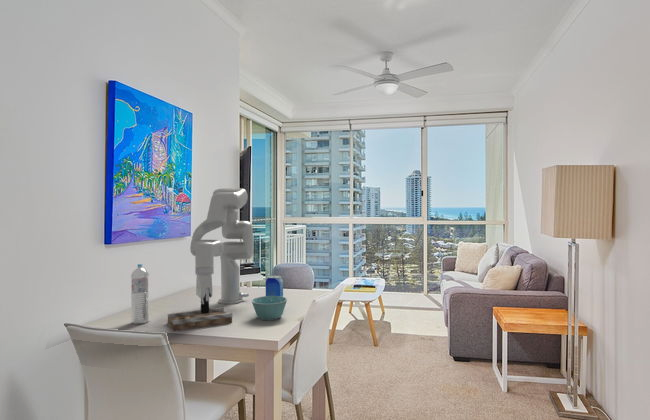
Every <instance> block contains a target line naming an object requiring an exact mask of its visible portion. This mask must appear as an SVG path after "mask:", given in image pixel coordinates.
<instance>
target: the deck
mask: <svg viewBox="0 0 650 420" xmlns="http://www.w3.org/2000/svg"><path fill="white" fill-rule="evenodd" d="M187 317H189V318H187ZM185 318H187V319H185ZM230 323H233V312H228V313H227V312H226V311H225V309H224V307H223V306H221V307H216V308H215V307H214V308H213V307H212V308H209V313H205V314H202V313H201V309H198V310H188V311H182V312H173V313H167V325H168V326H169V327H170V328H171V330H172V331H173V332H175V331H176V330H177V331H182V329H184V330H189V328H191V329H196V328H195V327H198V328H203V326H205V327H210V326H211V325H212V326H217V325H224V324H225V325H226V324H230Z"/></svg>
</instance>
